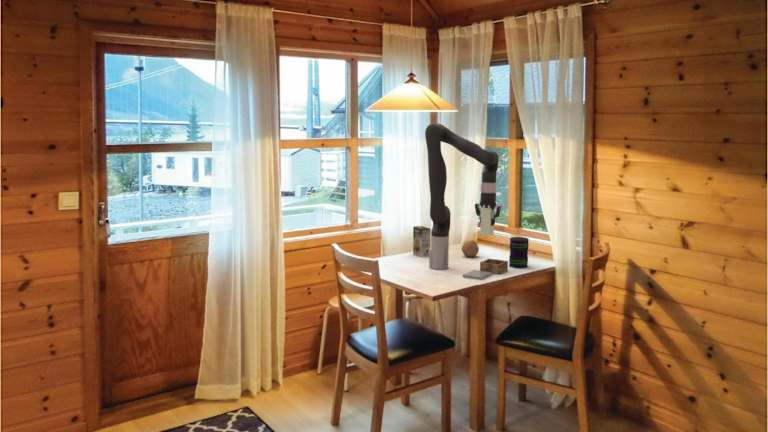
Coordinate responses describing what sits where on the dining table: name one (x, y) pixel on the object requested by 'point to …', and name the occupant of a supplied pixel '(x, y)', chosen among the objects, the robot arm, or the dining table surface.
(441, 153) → the robot arm
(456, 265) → the dining table surface
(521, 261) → the dark blue cylinder
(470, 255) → the onion
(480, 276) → the blue-grey square panel
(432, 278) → the dining table surface
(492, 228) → the tea tin
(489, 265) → the crate
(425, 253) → the coffee box
